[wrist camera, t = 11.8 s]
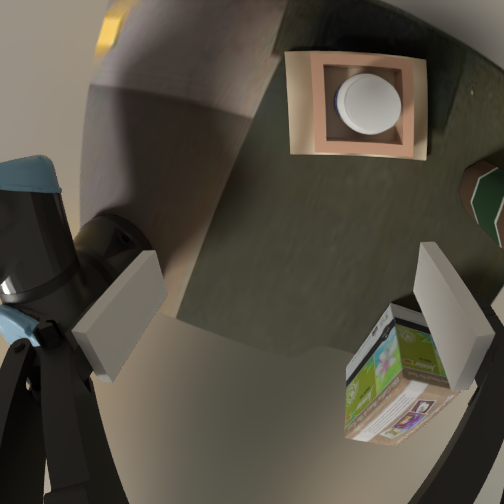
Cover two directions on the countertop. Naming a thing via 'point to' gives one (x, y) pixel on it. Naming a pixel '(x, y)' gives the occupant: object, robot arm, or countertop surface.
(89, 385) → the robot arm
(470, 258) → the countertop surface
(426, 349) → the tea box
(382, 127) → the pill bottle
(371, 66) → the well
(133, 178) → the countertop surface
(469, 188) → the beer bottle
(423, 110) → the board
